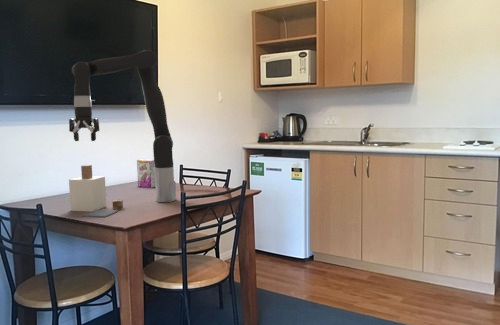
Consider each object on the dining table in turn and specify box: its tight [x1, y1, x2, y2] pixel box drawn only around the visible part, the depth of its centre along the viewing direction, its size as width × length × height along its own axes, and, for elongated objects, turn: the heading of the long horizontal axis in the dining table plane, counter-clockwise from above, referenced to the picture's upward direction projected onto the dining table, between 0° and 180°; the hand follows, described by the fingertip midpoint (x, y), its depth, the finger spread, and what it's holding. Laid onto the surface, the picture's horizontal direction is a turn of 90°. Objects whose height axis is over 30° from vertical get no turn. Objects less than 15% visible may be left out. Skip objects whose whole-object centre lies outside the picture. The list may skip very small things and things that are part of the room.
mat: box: [82, 209, 119, 218], centre depth 207 cm, size 11×11×1 cm
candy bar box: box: [136, 158, 156, 189], centre depth 279 cm, size 11×5×16 cm, turn 58°
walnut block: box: [112, 199, 124, 211], centre depth 218 cm, size 4×4×4 cm
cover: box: [68, 164, 107, 212], centre depth 218 cm, size 12×12×21 cm
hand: (85, 141), depth 216 cm, fingers open, 8 cm apart
